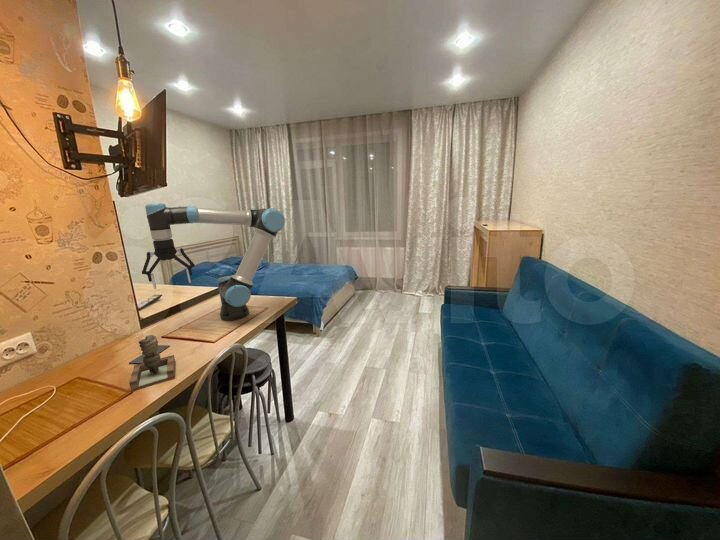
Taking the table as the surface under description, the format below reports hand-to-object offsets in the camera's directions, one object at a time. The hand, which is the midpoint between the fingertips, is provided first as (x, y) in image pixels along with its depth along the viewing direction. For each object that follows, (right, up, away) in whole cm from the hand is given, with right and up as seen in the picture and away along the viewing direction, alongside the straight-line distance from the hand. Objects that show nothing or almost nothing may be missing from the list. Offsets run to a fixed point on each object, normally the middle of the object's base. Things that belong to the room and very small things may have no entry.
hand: (173, 285), depth 133 cm
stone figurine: (+9, -32, -23) cm, 41 cm away
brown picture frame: (+8, -33, -23) cm, 41 cm away
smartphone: (-5, -30, -7) cm, 32 cm away
